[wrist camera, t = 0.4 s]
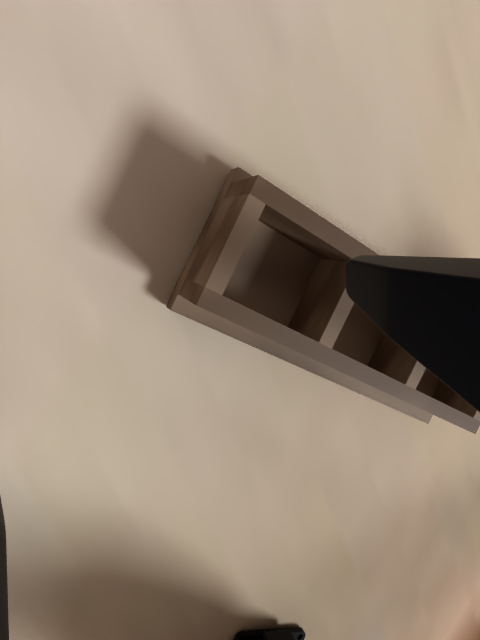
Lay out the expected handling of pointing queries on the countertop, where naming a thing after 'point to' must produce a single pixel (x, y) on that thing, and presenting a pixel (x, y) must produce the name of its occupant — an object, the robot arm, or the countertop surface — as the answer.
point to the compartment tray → (301, 299)
